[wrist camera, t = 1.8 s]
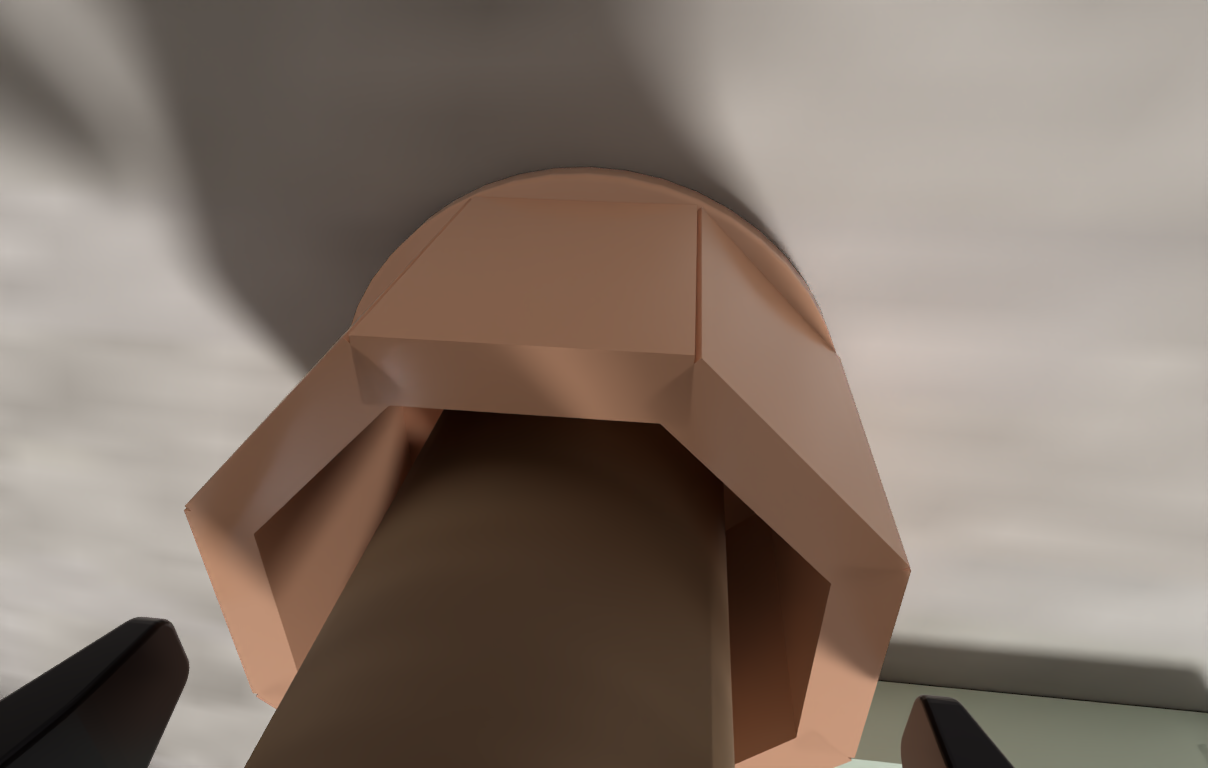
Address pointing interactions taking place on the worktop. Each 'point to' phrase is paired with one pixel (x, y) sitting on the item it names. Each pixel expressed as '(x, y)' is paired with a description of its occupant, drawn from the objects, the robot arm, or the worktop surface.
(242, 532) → the utensil pot
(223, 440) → the worktop surface
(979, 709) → the tray
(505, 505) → the pepper mill
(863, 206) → the worktop surface
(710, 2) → the worktop surface
